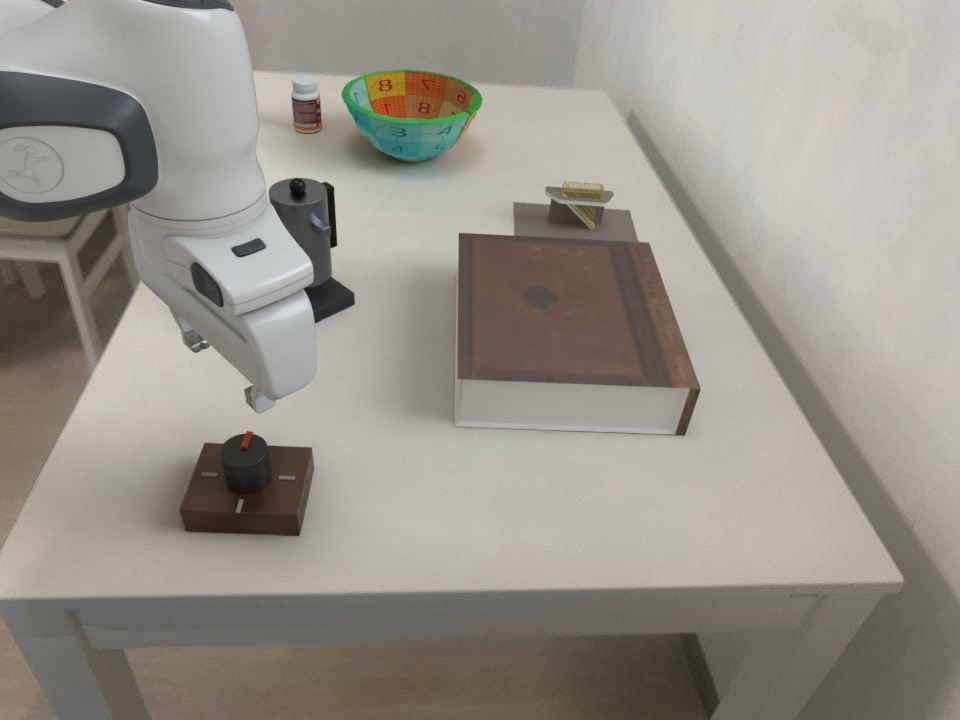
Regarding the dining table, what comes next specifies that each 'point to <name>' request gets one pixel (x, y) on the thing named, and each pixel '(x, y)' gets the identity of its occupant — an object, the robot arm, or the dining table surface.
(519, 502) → the dining table surface
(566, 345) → the book
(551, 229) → the platform
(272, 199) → the kettle
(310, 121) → the pill bottle
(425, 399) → the dining table surface
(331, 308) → the button base
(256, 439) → the dial knob
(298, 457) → the dial panel
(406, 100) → the bowl
